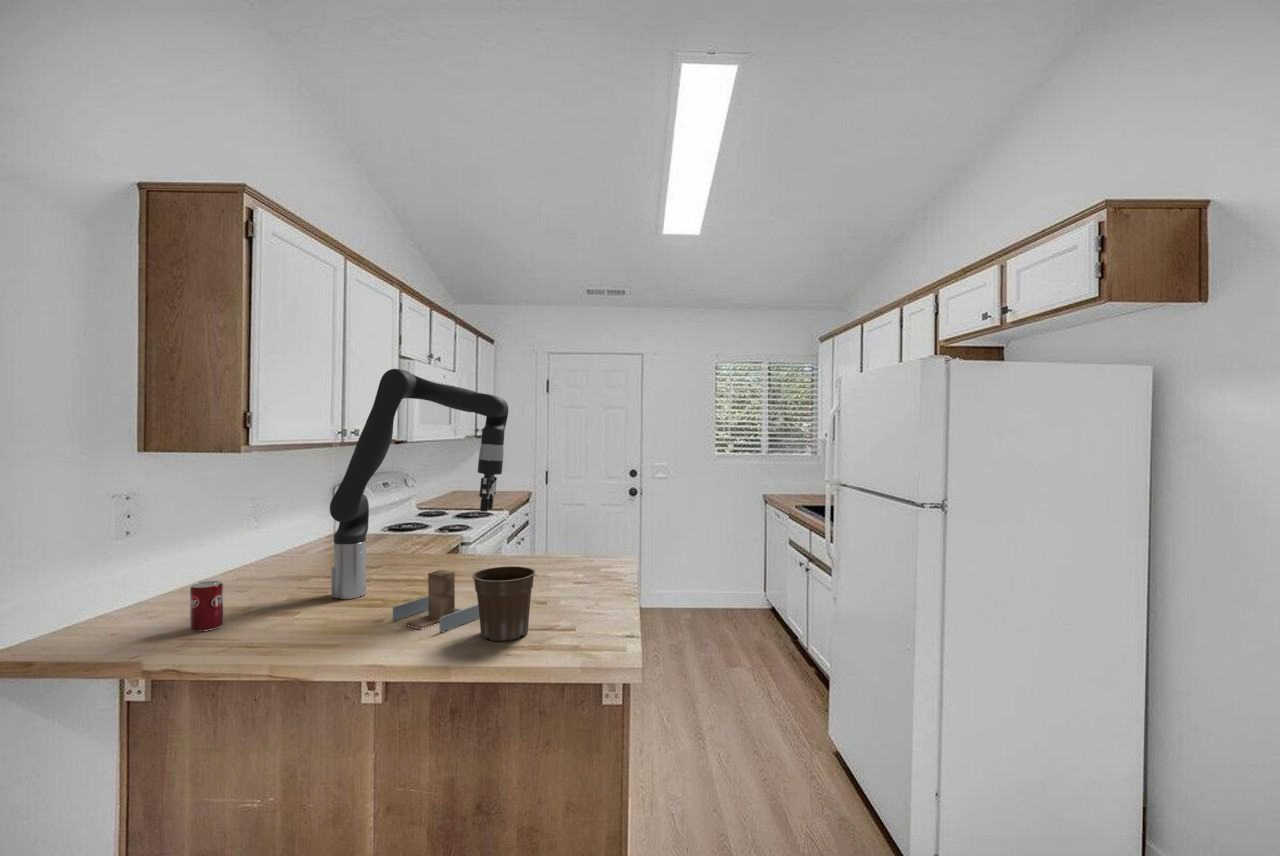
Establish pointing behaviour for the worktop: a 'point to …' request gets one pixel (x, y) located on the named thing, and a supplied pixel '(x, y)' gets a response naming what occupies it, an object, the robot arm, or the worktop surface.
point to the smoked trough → (445, 621)
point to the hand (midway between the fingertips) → (486, 510)
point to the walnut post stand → (438, 598)
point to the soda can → (206, 605)
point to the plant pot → (504, 601)
